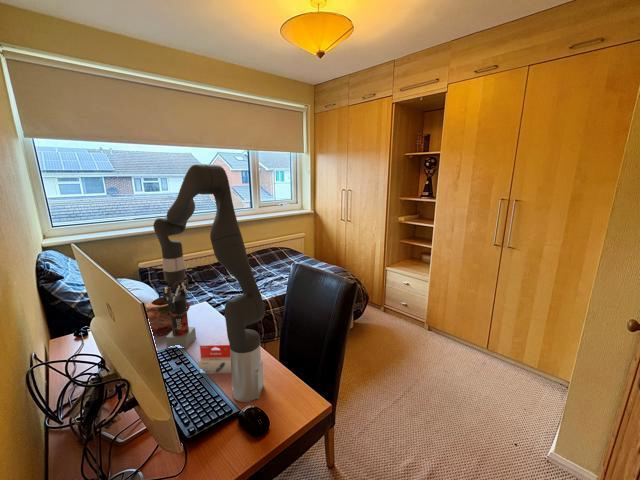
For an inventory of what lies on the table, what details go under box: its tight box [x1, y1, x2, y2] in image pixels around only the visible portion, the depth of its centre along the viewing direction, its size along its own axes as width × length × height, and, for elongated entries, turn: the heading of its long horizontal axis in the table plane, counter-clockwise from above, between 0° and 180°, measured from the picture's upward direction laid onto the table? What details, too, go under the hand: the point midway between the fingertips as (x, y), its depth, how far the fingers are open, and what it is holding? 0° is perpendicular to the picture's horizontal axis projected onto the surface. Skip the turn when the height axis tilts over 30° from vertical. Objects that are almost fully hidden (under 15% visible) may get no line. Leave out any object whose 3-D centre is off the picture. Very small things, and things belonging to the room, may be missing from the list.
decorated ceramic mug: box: [145, 296, 191, 336], centre depth 127 cm, size 20×12×14 cm, turn 131°
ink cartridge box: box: [198, 344, 231, 374], centre depth 101 cm, size 2×11×10 cm, turn 93°
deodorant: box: [170, 294, 189, 336], centre depth 116 cm, size 6×6×15 cm
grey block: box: [165, 326, 197, 350], centre depth 118 cm, size 8×8×5 cm
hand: (178, 306), depth 115 cm, fingers open, 8 cm apart
